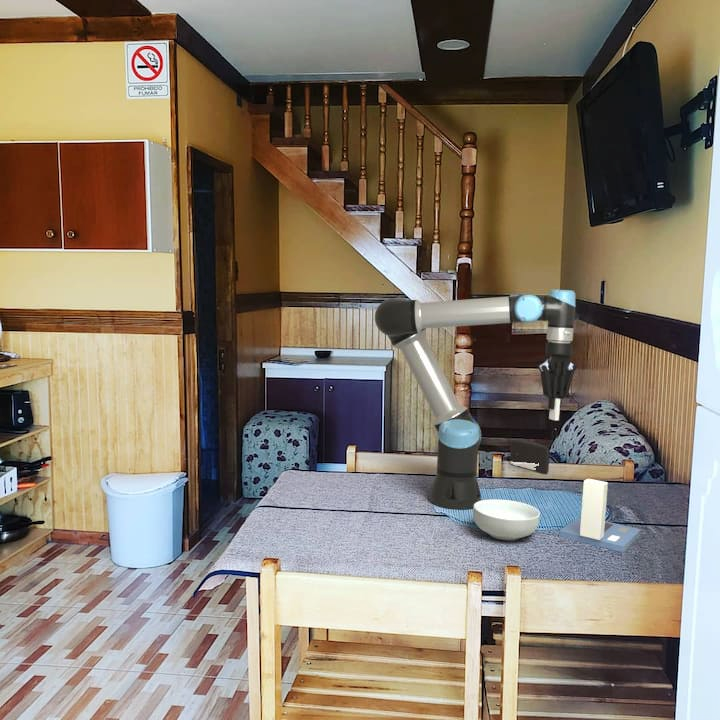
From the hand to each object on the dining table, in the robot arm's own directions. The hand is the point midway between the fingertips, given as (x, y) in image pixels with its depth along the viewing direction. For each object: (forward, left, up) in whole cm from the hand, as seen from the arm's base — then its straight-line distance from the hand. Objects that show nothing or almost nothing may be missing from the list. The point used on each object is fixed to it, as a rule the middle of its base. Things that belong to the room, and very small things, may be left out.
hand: (553, 419), depth 206 cm
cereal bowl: (-32, -23, -25) cm, 46 cm away
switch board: (-8, -31, -24) cm, 40 cm away
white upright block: (-14, -35, -23) cm, 44 cm away
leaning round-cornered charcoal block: (+15, +30, -25) cm, 42 cm away
